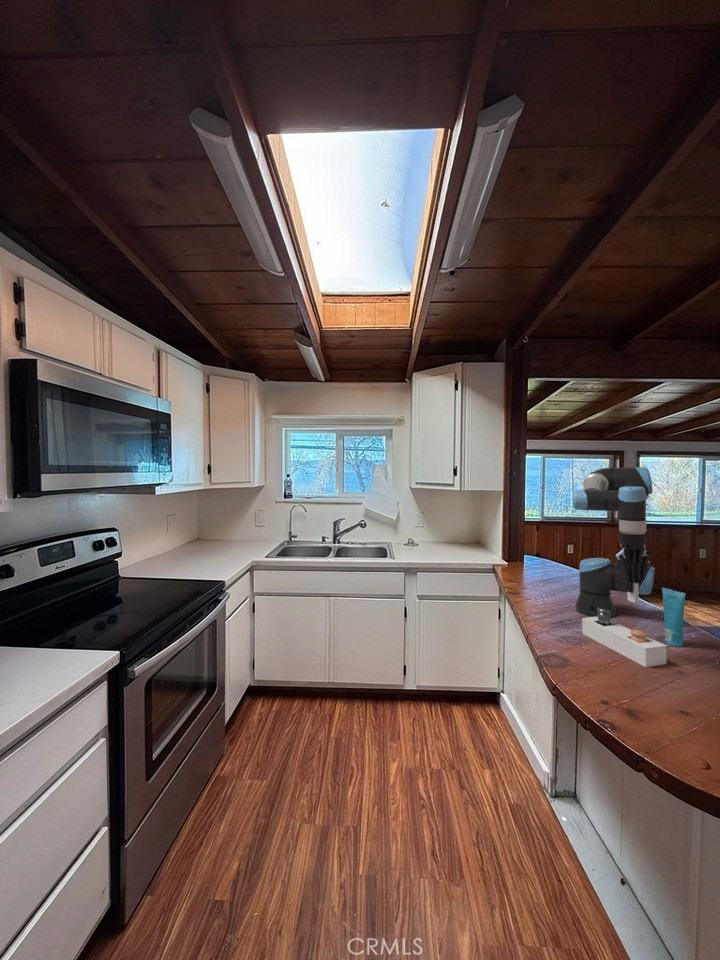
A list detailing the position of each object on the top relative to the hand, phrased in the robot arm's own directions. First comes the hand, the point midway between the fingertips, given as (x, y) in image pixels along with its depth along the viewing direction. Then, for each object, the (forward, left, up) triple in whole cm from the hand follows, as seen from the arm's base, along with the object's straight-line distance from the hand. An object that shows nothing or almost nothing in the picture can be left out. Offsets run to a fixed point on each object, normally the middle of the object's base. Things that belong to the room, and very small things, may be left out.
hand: (633, 601), depth 129 cm
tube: (-20, -3, -18) cm, 27 cm away
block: (0, -5, -18) cm, 19 cm away
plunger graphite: (0, -12, -14) cm, 18 cm away
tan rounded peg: (0, +2, -17) cm, 17 cm away
